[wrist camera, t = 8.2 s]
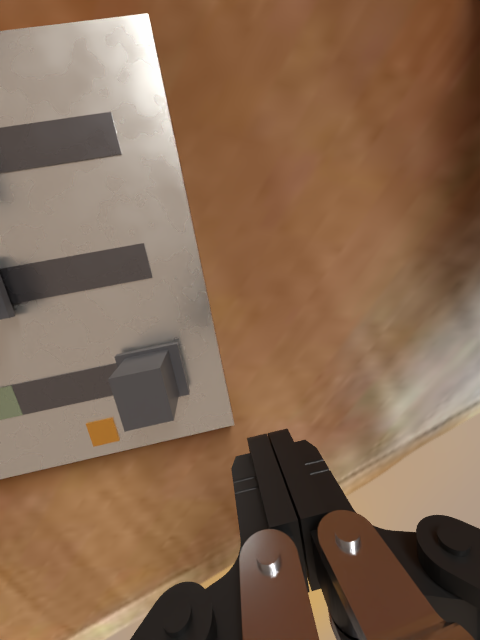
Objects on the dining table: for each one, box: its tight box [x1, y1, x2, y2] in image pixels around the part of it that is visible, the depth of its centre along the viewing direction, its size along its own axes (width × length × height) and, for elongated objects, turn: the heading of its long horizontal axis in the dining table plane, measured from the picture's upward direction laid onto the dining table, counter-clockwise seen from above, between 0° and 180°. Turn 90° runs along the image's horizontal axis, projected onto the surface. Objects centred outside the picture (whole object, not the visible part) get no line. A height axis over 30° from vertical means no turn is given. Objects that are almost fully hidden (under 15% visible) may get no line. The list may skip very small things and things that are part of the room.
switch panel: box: [0, 14, 234, 479], centre depth 20 cm, size 20×28×2 cm
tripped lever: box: [108, 342, 190, 432], centre depth 19 cm, size 4×4×4 cm
